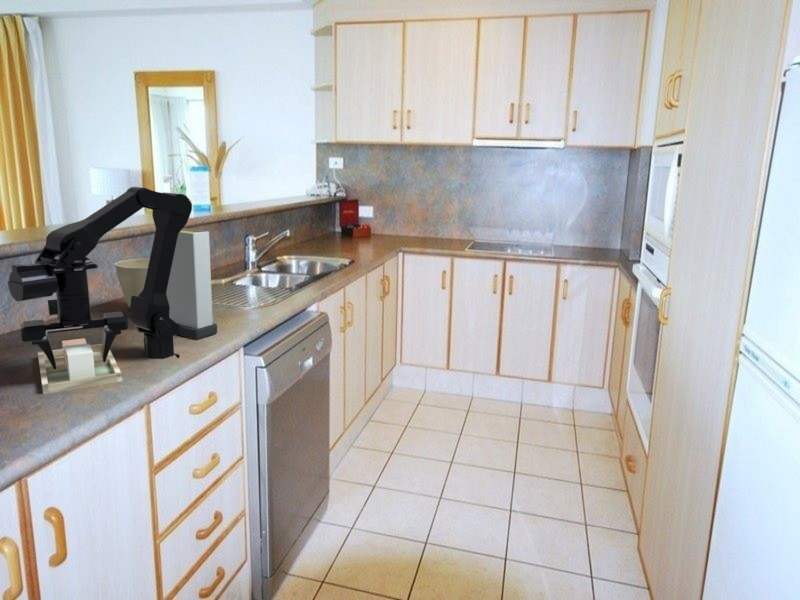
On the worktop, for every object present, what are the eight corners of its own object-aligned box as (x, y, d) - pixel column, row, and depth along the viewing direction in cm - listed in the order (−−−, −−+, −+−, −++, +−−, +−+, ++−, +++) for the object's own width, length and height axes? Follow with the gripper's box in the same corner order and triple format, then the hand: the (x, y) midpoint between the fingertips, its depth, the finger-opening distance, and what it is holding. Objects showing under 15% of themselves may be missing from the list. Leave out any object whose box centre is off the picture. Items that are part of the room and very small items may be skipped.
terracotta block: (88, 362, 125) (86, 343, 124) (65, 366, 123) (63, 346, 122) (86, 356, 129) (84, 338, 128) (63, 359, 126) (61, 340, 125)
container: (182, 333, 160) (164, 228, 155) (229, 333, 151) (211, 222, 146) (161, 339, 153) (141, 230, 149) (208, 340, 144) (188, 224, 140)
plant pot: (107, 317, 163) (102, 264, 160) (144, 306, 177) (140, 257, 173) (149, 323, 159) (145, 269, 155) (183, 311, 173) (181, 261, 169)
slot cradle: (122, 385, 116) (121, 374, 116) (43, 398, 108) (42, 386, 108) (107, 353, 135) (106, 343, 134) (38, 362, 127) (37, 351, 126)
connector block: (91, 369, 121) (89, 342, 119) (95, 379, 115) (93, 352, 114) (67, 372, 118) (64, 346, 117) (70, 383, 113) (67, 355, 111)
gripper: (117, 281, 124) (123, 347, 128) (16, 288, 114) (25, 360, 118) (125, 291, 115) (131, 362, 119) (17, 300, 105) (26, 378, 109)
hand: (80, 365), depth 116 cm, fingers open, 9 cm apart
